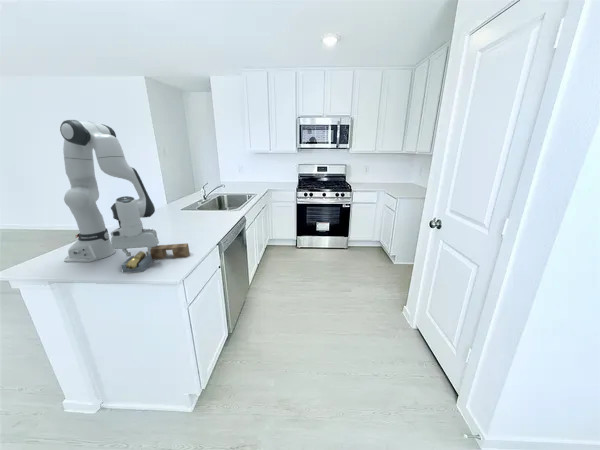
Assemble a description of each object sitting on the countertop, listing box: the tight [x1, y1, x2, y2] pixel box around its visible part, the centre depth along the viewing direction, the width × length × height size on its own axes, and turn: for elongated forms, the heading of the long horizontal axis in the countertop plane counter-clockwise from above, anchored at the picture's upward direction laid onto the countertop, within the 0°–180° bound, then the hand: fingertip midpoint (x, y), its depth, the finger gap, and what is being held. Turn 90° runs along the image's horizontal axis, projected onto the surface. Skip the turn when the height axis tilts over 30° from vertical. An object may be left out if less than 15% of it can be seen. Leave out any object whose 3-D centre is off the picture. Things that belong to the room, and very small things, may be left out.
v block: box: [121, 254, 153, 274], centre depth 123 cm, size 10×10×4 cm
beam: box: [147, 242, 190, 261], centre depth 134 cm, size 19×5×6 cm, turn 100°
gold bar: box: [126, 250, 147, 269], centre depth 122 cm, size 12×4×4 cm, turn 10°
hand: (138, 255), depth 125 cm, fingers open, 8 cm apart
